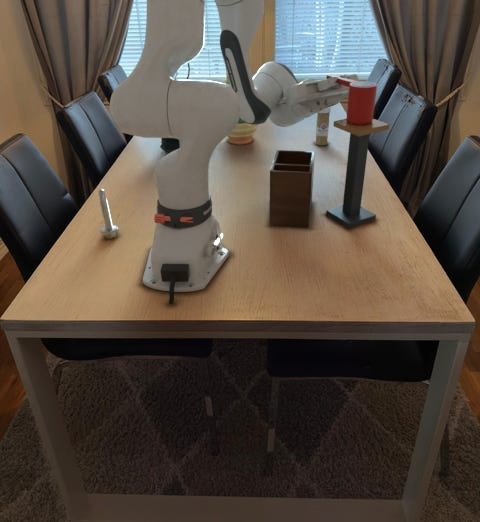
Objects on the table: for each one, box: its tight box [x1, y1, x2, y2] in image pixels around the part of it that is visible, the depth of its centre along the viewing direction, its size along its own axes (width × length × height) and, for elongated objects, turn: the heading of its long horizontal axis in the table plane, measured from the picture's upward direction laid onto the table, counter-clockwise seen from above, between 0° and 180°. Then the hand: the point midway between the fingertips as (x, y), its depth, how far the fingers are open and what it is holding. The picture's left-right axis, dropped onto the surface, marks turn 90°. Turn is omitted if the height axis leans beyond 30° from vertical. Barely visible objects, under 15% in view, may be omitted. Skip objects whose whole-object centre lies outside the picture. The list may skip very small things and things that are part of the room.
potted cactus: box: [226, 72, 259, 145], centre depth 169 cm, size 15×15×25 cm
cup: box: [326, 73, 378, 126], centre depth 111 cm, size 15×6×9 cm, turn 30°
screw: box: [98, 188, 120, 239], centre depth 115 cm, size 13×5×5 cm
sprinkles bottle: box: [314, 106, 332, 146], centre depth 167 cm, size 5×5×14 cm
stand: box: [325, 118, 390, 230], centre depth 117 cm, size 9×9×25 cm
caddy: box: [269, 149, 316, 229], centre depth 122 cm, size 14×10×15 cm
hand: (340, 78), depth 111 cm, fingers closed on cup
